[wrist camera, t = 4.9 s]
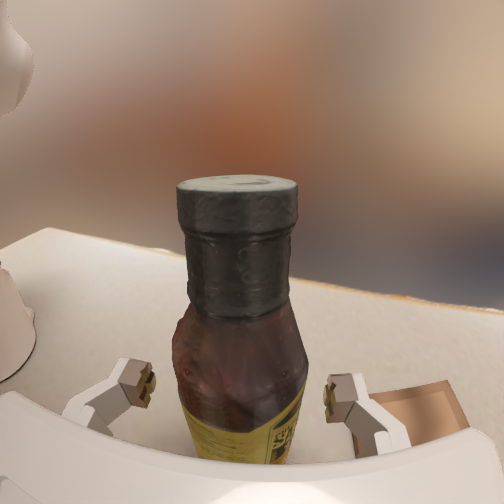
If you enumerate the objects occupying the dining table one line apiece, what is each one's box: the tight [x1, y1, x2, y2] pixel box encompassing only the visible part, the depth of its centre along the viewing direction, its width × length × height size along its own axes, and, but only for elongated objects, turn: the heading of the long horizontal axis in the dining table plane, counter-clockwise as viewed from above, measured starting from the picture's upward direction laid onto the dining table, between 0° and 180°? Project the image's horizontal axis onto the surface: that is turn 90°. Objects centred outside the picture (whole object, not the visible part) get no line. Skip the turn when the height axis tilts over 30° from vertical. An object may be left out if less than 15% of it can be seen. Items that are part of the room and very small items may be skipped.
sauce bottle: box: [172, 175, 309, 464], centre depth 12 cm, size 7×6×20 cm
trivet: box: [352, 380, 470, 458], centre depth 15 cm, size 12×12×1 cm
